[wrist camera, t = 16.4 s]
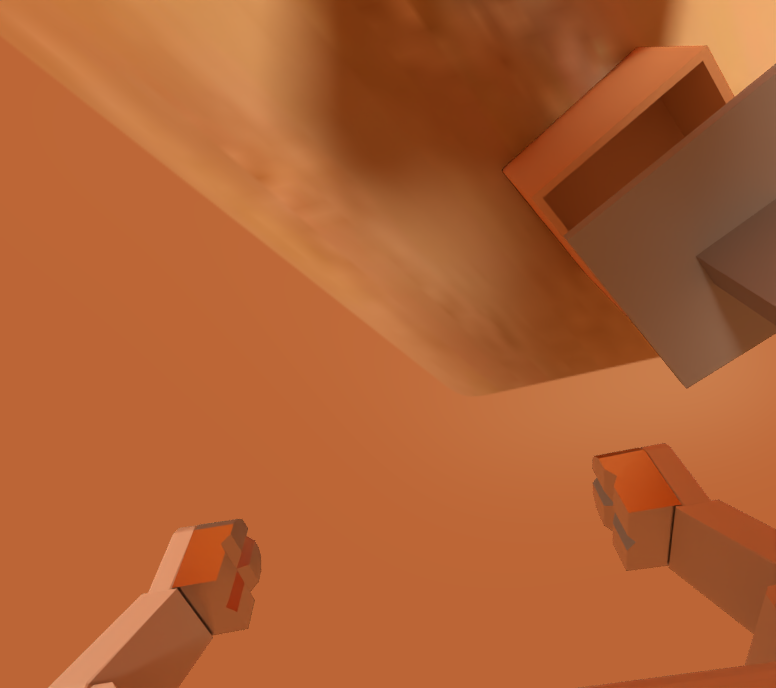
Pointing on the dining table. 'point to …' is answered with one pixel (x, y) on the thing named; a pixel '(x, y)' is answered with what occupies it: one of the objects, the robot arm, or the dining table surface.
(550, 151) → the large tan box
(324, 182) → the dining table surface
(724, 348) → the grey plate with knob
